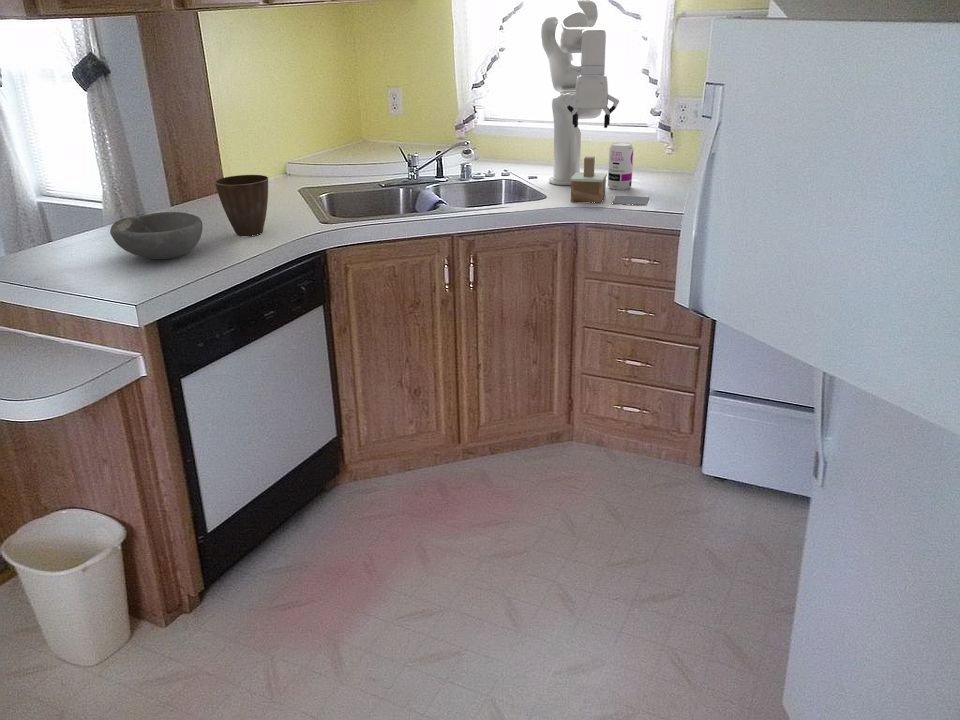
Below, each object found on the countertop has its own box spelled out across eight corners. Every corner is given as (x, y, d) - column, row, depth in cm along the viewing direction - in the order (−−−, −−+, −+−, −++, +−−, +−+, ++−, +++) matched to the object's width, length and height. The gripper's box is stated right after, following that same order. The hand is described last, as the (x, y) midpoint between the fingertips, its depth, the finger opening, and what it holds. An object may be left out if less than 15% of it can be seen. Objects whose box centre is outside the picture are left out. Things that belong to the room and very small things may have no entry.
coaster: (615, 196, 274) (615, 195, 274) (648, 198, 272) (648, 196, 271) (611, 204, 265) (611, 203, 265) (645, 205, 262) (645, 204, 262)
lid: (575, 177, 275) (576, 154, 272) (606, 178, 273) (607, 155, 269) (570, 184, 266) (571, 159, 263) (602, 185, 263) (603, 160, 260)
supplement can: (630, 185, 291) (632, 142, 285) (631, 190, 283) (634, 146, 277) (607, 185, 291) (609, 142, 285) (608, 190, 284) (610, 146, 278)
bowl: (143, 275, 206) (136, 236, 202) (102, 259, 220) (94, 222, 216) (223, 254, 222) (217, 218, 218) (180, 240, 235) (174, 206, 231)
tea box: (575, 195, 277) (576, 174, 275) (605, 196, 275) (606, 175, 272) (570, 202, 269) (571, 180, 266) (601, 203, 266) (601, 182, 263)
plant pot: (212, 238, 237) (203, 183, 230) (242, 225, 250) (235, 173, 243) (256, 242, 232) (248, 186, 225) (284, 229, 245) (278, 175, 238)
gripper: (563, 72, 254) (562, 128, 261) (618, 71, 250) (616, 129, 256) (567, 70, 261) (566, 125, 267) (621, 70, 256) (619, 126, 263)
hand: (590, 127), depth 262 cm, fingers open, 9 cm apart
